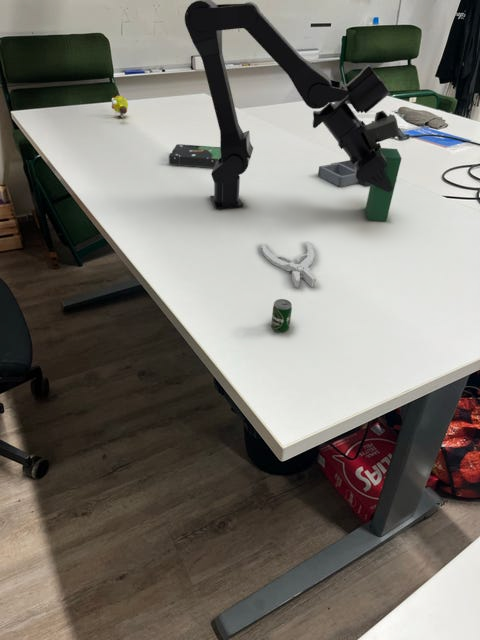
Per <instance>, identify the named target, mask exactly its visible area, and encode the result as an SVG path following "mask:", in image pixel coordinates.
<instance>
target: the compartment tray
mask: <svg viewBox="0 0 480 640" xmlns="http://www.w3.org/2000/svg"><path fill="white" fill-rule="evenodd" d="M356 164H357V162H356V163H354V164H352V162H351V161H350V159H348V160H344V161H338V162H333V163H330V164H325V165H320V166H319V167H318V171H317V176H318V177H319V178H322V179H323V180H325V181H327V182H329V183H331V184H333V185H335V186H337V187H339V188H342V187H347V186H352V185H356V184H360V185H361V186H364V187H370V185H371V184H369V183H367V182H365V183H363V184H361V183H360V182H359V181H358V180H357V178H356V177H355V172H354V170H355V165H356Z"/></svg>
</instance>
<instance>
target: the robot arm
mask: <svg viewBox="0 0 480 640" xmlns="http://www.w3.org/2000/svg"><path fill="white" fill-rule="evenodd" d="M184 24H185V27H186V29H187V32H188V34H189V37H190V39H191V41H192V44H193V46H194V47H195V49H196V51H197V52H198V55H199V57H200V58H201V61H202V65H203V68H204V73H205V76H206V77H205V78H206V80H207V84H208V90H209V93H210V97H211V100H212V105H213V109H214V111H215V117H216V121H217V124H218V129H219V138H220V140H219V141H220V142H219V143H220V146H219V147H220V150H221V157H220V158H219V159H218V160H217V162H216V164H215V167H214V168H212V171H211V173H210V174H211V177H212V181H213V195H210V196H209V199H210V201H211V203H212V204H213V207H214V208H215V210H221V209H231V208H232V209H233V208H244V205H245V204H244V203H243V201H242V199H240V185H241V184H240V182H241V176H240V175H242V174H244V173H245V172H246V171H247V169H248V168H249V164H250V160H251V158H252V154H253V151H254V147H253V145H252V143H251V134H250V133H251V132H250V130H247V131H243V129H242V128H241V126H240V123H239V121H238V116H237V111H236V107H235V102H234V97H233V94H232V89H231V85H230V80H229V75H228V72H227V67H226V62H225V59H224V54H223V31H228V30H238V29H244V30H245V31H246V32H247V33H248V34H249V35H250V36H251V37H252V39H254V40H255V41H256V43H258V44H259V46H260V47H262V49H263V50H264V51H265V52H266V53H267V54H268V55H269V56H270V57H271V58H272V59H273V60H274V62H276V64H277V65H278V66H279V67H280V68H281V69H282V71H284V72H285V73H286V75H287V77H288V78H289V79H290V80H291V82H292V84H293V86H294V88H295V89H296V91H297V92H298V94H299V96H300V97H301V99H302V101H303V102H304V103H305V105H306V106H307V107H308V108H309V109H312V110H313V111H312V116H313V119H312V128H313V129H316V128H317V127H319V126H320V125H321V124H322V123H323V125H324V126H325V127H326V129H327V130H328V131H329V133H330V134H331V135H332V137H333V138H334V139H335V141H336V142H337V146H338V147H339V148H340V150H343V151H344V152H345V153H346V155H347V156H348V157H349V160H350V161H351V162H352V164H354V163H356V162H357V164H356V165H355V170H354V172H355V177H356V178H357V180H358V181H359V182H360V183H361V184H360V183H359V184H360V185H362V184H363V183H365V182H367V183H369V184H372V185H374V186H376V187H378V188H380V189H383V190H385V191H387V192H390V191H392V190H393V188H392V186H391V183H390V181H389V179H388V177H387V175H386V173H385V167H386V166H387V165H388V163H387V160H386V158H385V157H384V155H383V154H382V153H381V151H378V148H382V146H381V143H380V142H383V141H386V140H389V139H394V138H398V137H399V136H400V129H399V124H398V120H397V117H396V116H395V114H391V113H390V114H387V113H386V112H385V111H384V110H380V111H378V112H376V113H375V116H374V120H371V122H370V123H368V124H367V123H365V122H364V121H363V120H360V119H359V118H358V116H357V115H356V114H355V112H356V113H358V114H359V113H361V114H363V113H365V114H367V113H368V112H369V111H371V110H372V109H373V108H374V107H375V106H377V105H378V104H379V103H381V102H382V101H383V100H384V99H385V98H387V97H388V96H390V94H391V92H390V91H389V89H388V87H387V86H386V85H385V83H384V81H382V78H381V77H380V76H379V75H377V74H376V72H375V71H374V69H373V68H372V66H371V65H370V64H367V65H366V66H365V67H363V68H362V69H361V71H360V72H359V73H358V74H357V75H356V76H354V78H352V79H351V80H350V81H349V82H348V83H347V82H343V81H341V80H340V81H339V80H335V79H331V78H330V77H329V75H328V74H327V73H325V72H324V71H323V70H321V69H320V68H319V67H317V66H316V65H314V64H313V63H312V62H310V61H308V60H306V58H304V57H303V56H302V55H301V54H300V53H299V52H298V51H297V50H296V49H295V48H294V46H292V45H291V44H290V42H289V41H288V40H287V39H286V38H285V36H283V34H281V32H280V31H279V30H278V29H277V28H276V27H275V26H274V24H272V23H271V22H270V20H269V19H268V18H267V17H266V16H265V15H264V14H263V13H262V12H261V10H260V8H259V6H258V5H257V4H256V3H255V2H252V1H246V2H244V3H223V4H221V3H220V4H217V3H215V2H214V1H213V0H195V1H193V2H191V4H189V5H188V7H186V10H185V13H184ZM347 102H349V104H350V105H351V106H352V108H353V109H354V110H355V112H354V111H353V110H352V109H351V107H350V106H349V105H348V103H347ZM318 109H319V110H318Z"/></svg>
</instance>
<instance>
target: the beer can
mask: <svg viewBox="0 0 480 640" xmlns="http://www.w3.org/2000/svg"><path fill="white" fill-rule="evenodd" d="M292 310H293V304H292V302H291V301H290V300H288V299H285V298H279V299H276V300H275V301H274V302H273V306H272V312H271V313H272V315H271V328H272V329H273V330H274V331H276V332H279V333H284V332H287V331H288V330H289V329H290V325H291V319H292V318H291V317H292Z"/></svg>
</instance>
